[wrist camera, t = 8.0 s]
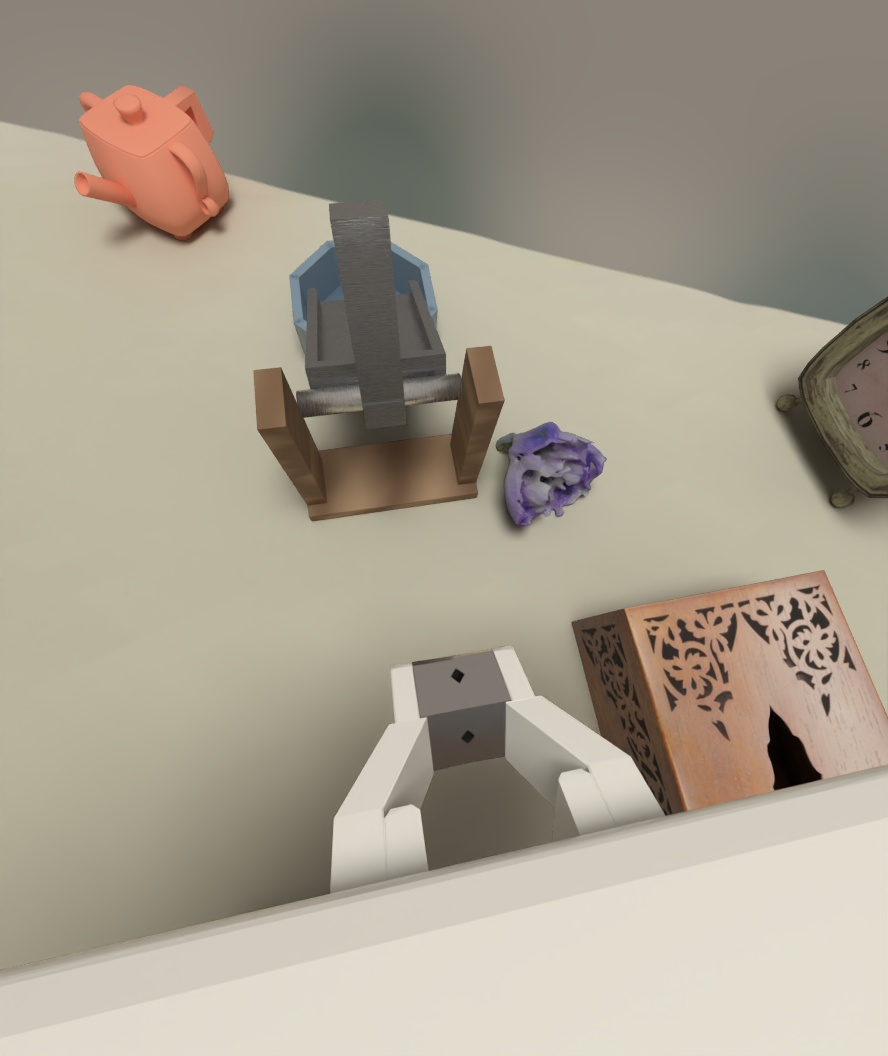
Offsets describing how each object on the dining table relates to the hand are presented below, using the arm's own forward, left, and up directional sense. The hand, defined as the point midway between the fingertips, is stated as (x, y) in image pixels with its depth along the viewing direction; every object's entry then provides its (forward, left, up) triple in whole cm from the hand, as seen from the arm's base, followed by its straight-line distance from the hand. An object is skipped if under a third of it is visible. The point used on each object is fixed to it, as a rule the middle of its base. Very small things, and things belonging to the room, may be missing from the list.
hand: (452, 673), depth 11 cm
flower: (+12, +14, -26) cm, 32 cm away
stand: (0, +17, -26) cm, 31 cm away
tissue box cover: (+20, -11, -26) cm, 35 cm away
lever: (0, +21, -16) cm, 26 cm away
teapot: (-19, +51, -26) cm, 60 cm away
